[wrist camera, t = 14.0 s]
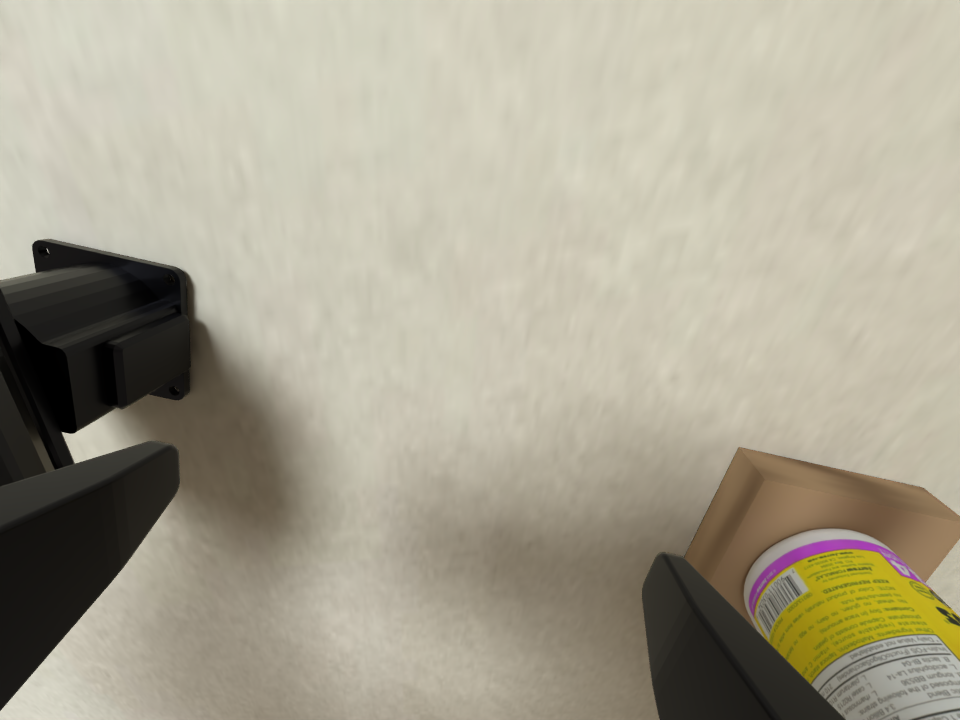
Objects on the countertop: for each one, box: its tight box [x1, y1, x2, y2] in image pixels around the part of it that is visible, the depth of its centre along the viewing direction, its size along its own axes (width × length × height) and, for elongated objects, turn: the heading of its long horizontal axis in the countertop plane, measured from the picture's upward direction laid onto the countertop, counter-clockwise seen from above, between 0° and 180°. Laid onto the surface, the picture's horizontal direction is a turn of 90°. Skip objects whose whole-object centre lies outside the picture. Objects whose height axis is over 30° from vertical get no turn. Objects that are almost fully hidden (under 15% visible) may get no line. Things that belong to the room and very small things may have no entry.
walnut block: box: [684, 447, 960, 629], centre depth 23 cm, size 9×9×2 cm
